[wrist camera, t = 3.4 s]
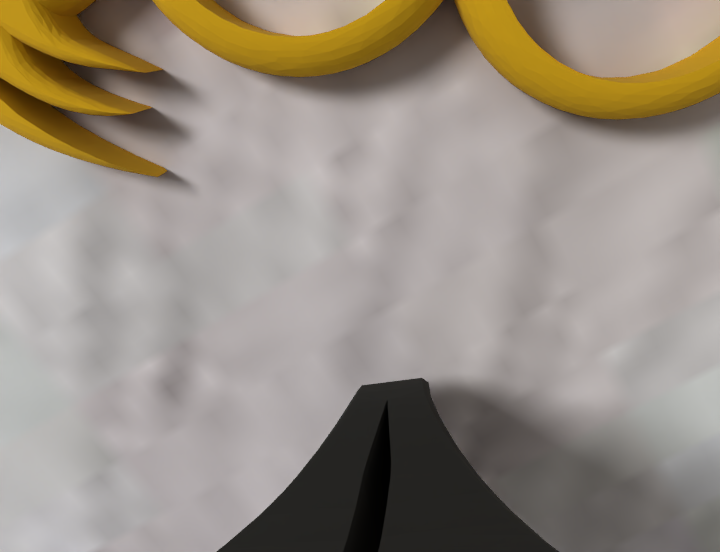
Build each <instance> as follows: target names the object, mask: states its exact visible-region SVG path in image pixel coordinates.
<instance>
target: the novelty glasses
mask: <svg viewBox="0 0 720 552" xmlns="http://www.w3.org/2000/svg"><path fill="white" fill-rule="evenodd" d="M94 1H95V0H0V124H1V125H3V126H5V127H7V128H8V129H10V130H12V131H14V132H15V133H17V134H19V135H21V136H23V137H25V138H27V139H29V140H31V141H33V142H35V143H37V144H40V145H42V146H44V147H47V148H49V149H52V150H54V151H57V152H60V153H63V154H66V155H69V156H71V157H74V158H77V159H81V160H84V161H87V162H91V163H94V164H98V165H102V166H106V167H110V168H114V169H118V170H122V171H127V172H133V173H138V174H143V175H149V176H155V177H158V176H160V175H162V174H163V173H165V172H167V170H166V169H165V168H163V167H161V166H159V165H156V164H154V163H152V162H150V161H147V160H145V159H143V158H141V157H139V156H136V155H134V154H132V153H130V152H128V151H126V150H124V149H122V148H120V147H118V146H116V145H114V144H112V143H110V142H108V141H106V140H104V139H103V138H101V137H99V136H97V135H95V134H94V133H92V132H90V131H88V130H87V129H85V128H83V127H81V126H80V125H78V124H77V123H75V122H73V121H72V120H70V119H69V118H68V117H66V116H65V115H63V114H62V113H61V112H59V111H58V110H56V109H55V108H54V107H52V106H51V105H53V106H56V107H59V108H62V109H65V110H69V111H73V112H78V113H83V114H88V115H101V116H114V115H127V114H133V113H136V112H140V111H143V110H146V109H149V108H153V107H150V106H147V105H143V104H140V103H137V102H134V101H131V100H128V99H126V98H123V97H120V96H117V95H114V94H112V93H109V92H107V91H105V90H103V89H101V88H99V87H97V86H94V85H92V84H91V83H89V82H87V81H86V80H84V79H82V78H81V77H79V76H78V75H77V74H75V73H74V72H73V71H71V70H70V69H69V68H68V67H67V66H66V65H65V64H64V63H63V62H62V60H64V61H67V62H70V63H74V64H78V65H83V66H88V67H95V68H105V69H114V70H124V71H134V72H143V73H146V72H152V71H158V70H163V69H161V68H159V67H157V66H155V65H153V64H151V63H149V62H146V61H144V60H142V59H140V58H138V57H136V56H133V55H131V54H129V53H127V52H124V51H122V50H120V49H118V48H116V47H113V46H111V45H109V44H107V43H105V42H103V41H101V40H99V39H98V38H96V37H95V36H94V35H92V34H91V33H90V32H89V31H88V30H87V29H86V28H85V27H84V26H83V24H82V23H81V21H80V20H79V18H78V17H77V14H79V13H80V12H81V11H83V10H84V9H85V8H87V7H88V6H89V5H90V4H92V3H93V2H94ZM152 1H153V2H154V3H155V4H156V6H157V7H158V8H159V9H160V10H161V11H162V12H163V14H164V15H165V16H166V17H167V18H168V19H169V20H170V21H171V22H172V23H173V24H174V25H175V26H177V27H178V28H179V29H180V30H181V31H182V32H183V33H184V34H186V35H187V36H188V37H190V38H191V39H192V40H194V41H195V42H197V43H198V44H200V45H201V46H202V47H204V48H205V49H207V50H209V51H210V52H212V53H214V54H216V55H217V56H219V57H221V58H223V59H225V60H227V61H229V62H232V63H234V64H236V65H239V66H241V67H244V68H247V69H251V70H254V71H258V72H262V73H266V74H272V75H278V76H290V77H309V76H320V75H327V74H334V73H337V72H341V71H345V70H348V69H352V68H354V67H357V66H360V65H362V64H365V63H367V62H369V61H371V60H373V59H375V58H377V57H379V56H381V55H383V54H384V53H386V52H388V51H389V50H391V49H393V48H394V47H396V46H397V45H399V44H400V43H401V42H403V41H404V40H405V39H406V38H408V37H409V36H410V35H411V34H412V33H414V32H415V31H416V30H417V29H418V28H419V27H420V26H421V25H422V24H423V23H424V22H425V21H426V20H427V19H428V18H429V17H430V16H431V15H432V14H433V12H434V11H435V10H436V9H437V8H438V6H439V5H440V4H441V3H442V1H443V0H385V1H384V2H383V3H381V4H380V5H379V6H377V7H376V8H375V9H373V10H372V11H371V12H369V13H368V14H367V15H365V16H363V17H361V18H359V19H357V20H356V21H354V22H352V23H350V24H348V25H346V26H344V27H341V28H338V29H335V30H332V31H329V32H325V33H321V34H316V35H311V36H291V35H285V34H279V33H273V32H269V31H266V30H263V29H261V28H258V27H256V26H253V25H250V24H248V23H246V22H244V21H242V20H240V19H239V18H237V17H235V16H234V15H232V14H231V13H229V12H228V11H226V10H225V9H223V8H222V7H221V6H219V5H218V4H217V3H216V2H215V1H214V0H152ZM454 1H455V4H456V6H457V9H458V12H459V14H460V17H461V19H462V21H463V23H464V25H465V27H466V29H467V31H468V33H469V35H470V37H471V39H472V40H473V41H474V43H475V44H476V46H477V47H478V49H479V50H480V51H481V53H482V54H483V56H484V57H485V58H486V60H487V61H488V62H489V63H490V64H491V65H492V66H493V67H494V68H495V69H496V70H497V71H498V72H499V73H500V74H501V75H502V76H503V77H504V78H506V79H507V80H508V81H509V82H510V83H511V84H513V85H514V86H516V87H517V88H519V89H520V90H522V91H523V92H525V93H526V94H528V95H530V96H532V97H534V98H535V99H537V100H539V101H541V102H543V103H545V104H547V105H549V106H552V107H554V108H556V109H559V110H562V111H566V112H569V113H573V114H576V115H580V116H585V117H592V118H599V119H632V118H646V117H651V116H656V115H661V114H666V113H669V112H673V111H676V110H680V109H683V108H686V107H688V106H691V105H694V104H697V103H699V102H701V101H703V100H705V99H708V98H710V97H712V96H714V95H716V94H718V93H720V36H719V37H718V38H716V39H715V40H713V41H712V42H711V43H709V44H708V45H706V46H705V47H703V48H702V49H700V50H699V51H698V52H696V53H695V54H693V55H692V56H690V57H688V58H686V59H684V60H681V61H679V62H677V63H675V64H673V65H670V66H668V67H666V68H664V69H661V70H659V71H655V72H650V73H646V74H641V75H636V76H631V77H615V78H601V77H595V76H589V75H585V74H582V73H580V72H577V71H575V70H573V69H571V68H569V67H567V66H565V65H563V64H562V63H560V62H558V61H557V60H556V59H554V58H553V57H552V56H550V55H549V54H548V53H547V52H545V51H544V50H543V49H541V48H540V47H539V46H538V45H537V44H536V43H535V41H534V40H533V39H532V38H531V37H530V36H529V35H528V34H527V32H526V31H525V30H524V28H523V27H522V26H521V24H520V23H519V22H518V20H517V18H516V16H515V15H514V13H513V11H512V9H511V7H510V6H509V4H508V2H507V0H454ZM50 104H51V105H50Z"/></svg>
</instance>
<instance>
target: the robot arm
mask: <svg viewBox="0 0 720 552" xmlns="http://www.w3.org/2000/svg"><path fill="white" fill-rule="evenodd" d="M217 552H559V551H557V550H556V549H555V548H553V547H552V546H551V545H549V544H548V543H547V542H546V541H544V540H543V539H542V538H541V537H540V536H539V535H538V534H536V533H535V532H534V531H533V530H532V529H531V528H530V527H529V526H527V525H526V524H525V523H524V522H523V521H522V520H521V519H520V518H519V517H517V516H516V515H515V514H514V513H513V512H512V511H511V510H510V509H509V508H508V507H507V506H506V505H505V504H504V503H503V502H502V501H501V500H500V499H499V498H498V497H497V496H496V495H495V494H494V493H493V491H492V490H491V489H490V488H489V487H488V486H487V485H486V483H485V482H484V481H483V480H482V479H481V478H480V476H479V475H478V474H477V473H476V471H475V470H474V469H473V468H472V466H471V465H470V464H469V462H468V461H467V460H466V458H465V457H464V455H463V454H462V453H461V451H460V450H459V448H458V447H457V445H456V444H455V442H454V441H453V439H452V437H451V436H450V434H449V432H448V431H447V429H446V427H445V426H444V424H443V422H442V420H441V418H440V417H439V415H438V413H437V410H436V408H435V406H434V404H433V401H432V398H431V395H430V389H429V384H428V382H427V381H425V380H424V379H423V378H418V379H410V380H402V381H394V382H386V383H378V384H370V385H362V386H361V387H360V389H359V390H358V391H357V393H356V394H355V396H354V397H353V399H352V401H351V402H350V404H349V405H348V407H347V408H346V410H345V412H344V413H343V415H342V416H341V418H340V419H339V421H338V422H337V424H336V425H335V427H334V428H333V430H332V431H331V432H330V434H329V435H328V437H327V438H326V439H325V441H324V442H323V444H322V445H321V446H320V448H319V449H318V451H317V452H316V453H315V454H314V456H313V457H312V458H311V459H310V461H309V462H308V463H307V464H306V466H305V467H304V468H303V469H302V471H301V472H300V473H299V474H298V476H297V477H296V478H295V479H294V480H293V482H292V483H291V484H290V485H289V486H288V487H287V488H286V489H285V490H284V492H283V493H282V494H281V495H280V496H279V497H278V498H277V499H276V500H275V501H274V502H273V503H272V504H271V505H270V506H269V507H268V508H267V509H266V510H265V511H264V512H263V513H261V514H260V515H259V516H258V517H257V518H256V519H255V520H254V521H252V522H251V523H250V524H249V525H248V526H247V527H245V528H244V529H243V530H242V531H241V532H240V533H238V534H237V535H236V536H235V537H234V538H233V539H231V540H230V541H229V542H228V543H227V544H226V545H224V546H223V547H222V548H221V549H219V550H218V551H217Z"/></svg>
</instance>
